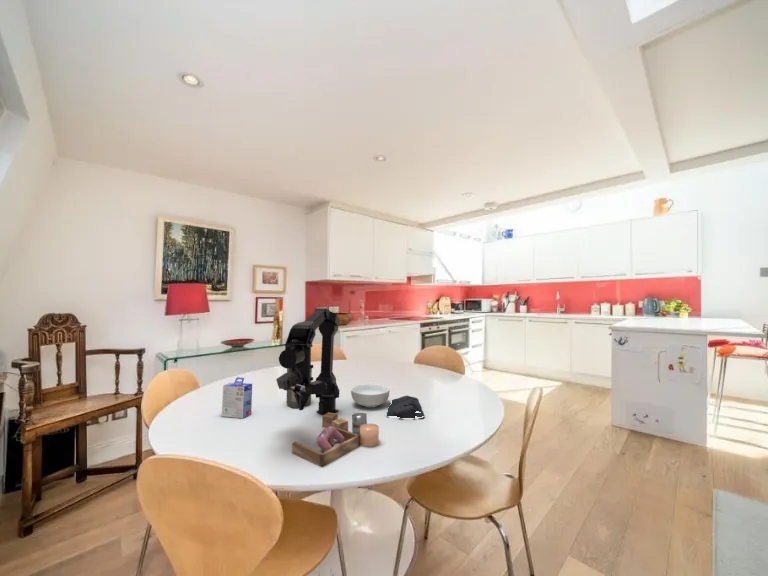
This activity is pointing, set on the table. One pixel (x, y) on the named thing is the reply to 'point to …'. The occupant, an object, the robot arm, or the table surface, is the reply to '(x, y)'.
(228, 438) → the table surface
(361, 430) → the peach cylinder puck
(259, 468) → the table surface
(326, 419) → the walnut cube
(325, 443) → the video game controller
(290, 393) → the liquor
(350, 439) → the frame
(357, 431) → the dark tin
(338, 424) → the oak cube
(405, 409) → the dark slate chunk
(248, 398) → the ink cartridge box
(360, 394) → the cereal bowl
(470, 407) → the table surface
